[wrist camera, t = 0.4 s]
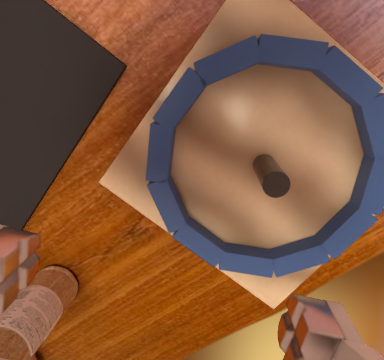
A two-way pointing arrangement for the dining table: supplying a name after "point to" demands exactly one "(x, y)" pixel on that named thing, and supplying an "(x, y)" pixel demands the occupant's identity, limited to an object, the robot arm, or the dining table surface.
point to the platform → (254, 146)
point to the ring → (364, 186)
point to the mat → (44, 99)
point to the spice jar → (35, 312)
